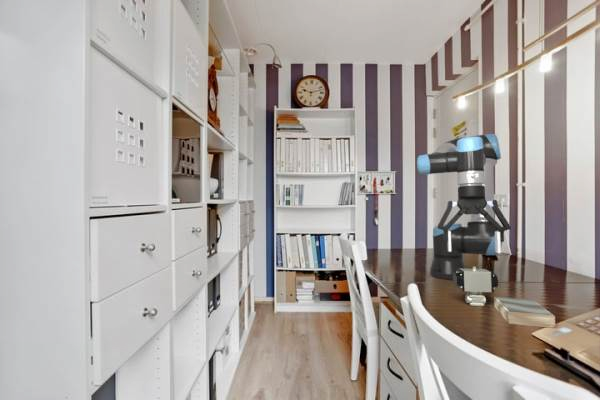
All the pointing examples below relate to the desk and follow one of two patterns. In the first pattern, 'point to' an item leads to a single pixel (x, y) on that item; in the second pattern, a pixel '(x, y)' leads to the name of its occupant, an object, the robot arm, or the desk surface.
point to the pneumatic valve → (475, 284)
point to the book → (523, 312)
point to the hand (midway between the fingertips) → (473, 251)
